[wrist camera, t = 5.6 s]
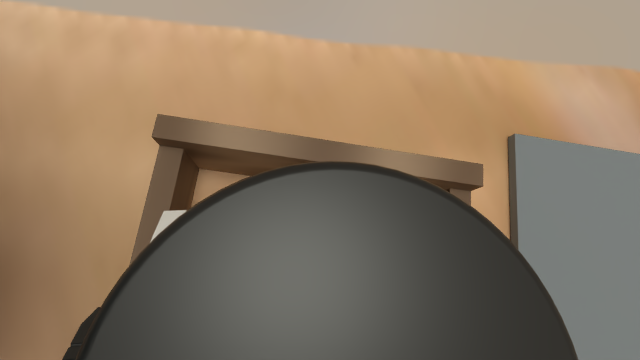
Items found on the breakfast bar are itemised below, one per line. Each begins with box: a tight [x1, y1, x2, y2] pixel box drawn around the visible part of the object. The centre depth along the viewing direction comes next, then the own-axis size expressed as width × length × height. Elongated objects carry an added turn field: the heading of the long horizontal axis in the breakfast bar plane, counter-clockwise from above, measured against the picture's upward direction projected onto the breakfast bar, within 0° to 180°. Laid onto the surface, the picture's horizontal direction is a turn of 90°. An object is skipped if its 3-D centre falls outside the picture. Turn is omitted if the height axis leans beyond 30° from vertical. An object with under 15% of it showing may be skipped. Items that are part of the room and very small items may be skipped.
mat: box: [508, 134, 640, 360], centre depth 19 cm, size 14×14×1 cm
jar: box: [76, 161, 578, 360], centre depth 11 cm, size 9×8×12 cm
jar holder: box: [129, 114, 483, 266], centre depth 15 cm, size 14×15×4 cm
